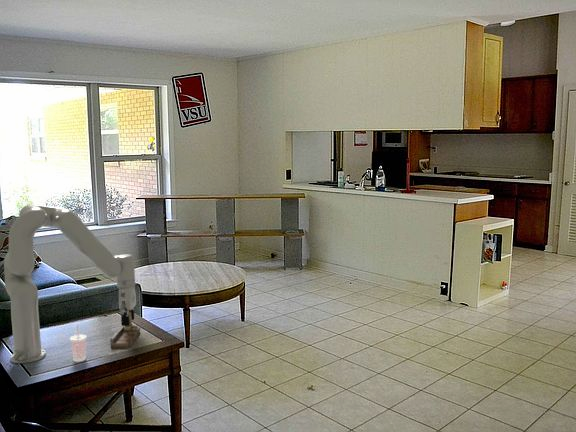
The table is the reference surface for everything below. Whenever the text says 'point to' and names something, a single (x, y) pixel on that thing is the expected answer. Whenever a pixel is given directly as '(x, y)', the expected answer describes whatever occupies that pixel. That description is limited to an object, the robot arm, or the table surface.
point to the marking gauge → (130, 327)
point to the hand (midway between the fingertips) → (128, 322)
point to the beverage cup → (78, 346)
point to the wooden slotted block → (123, 338)
